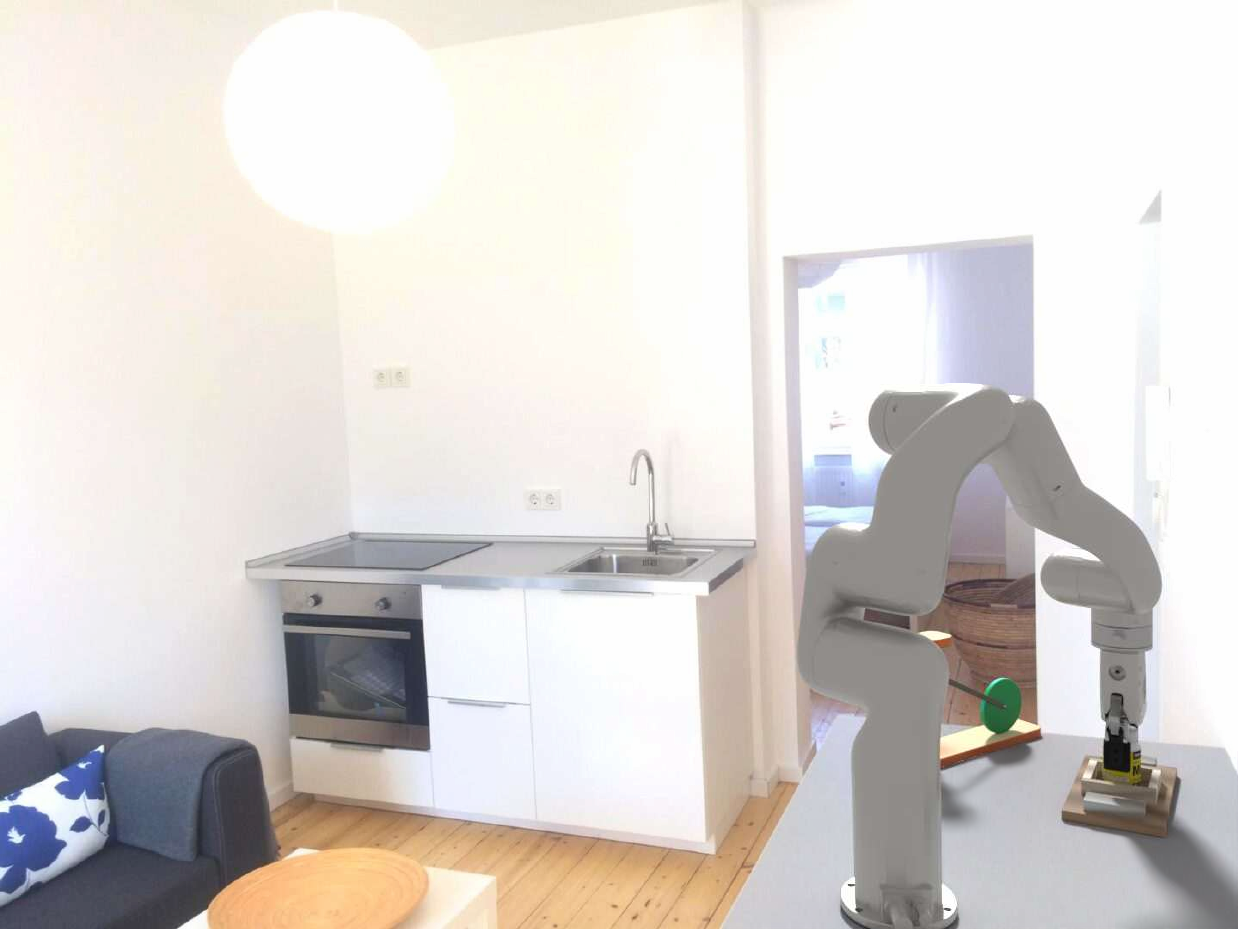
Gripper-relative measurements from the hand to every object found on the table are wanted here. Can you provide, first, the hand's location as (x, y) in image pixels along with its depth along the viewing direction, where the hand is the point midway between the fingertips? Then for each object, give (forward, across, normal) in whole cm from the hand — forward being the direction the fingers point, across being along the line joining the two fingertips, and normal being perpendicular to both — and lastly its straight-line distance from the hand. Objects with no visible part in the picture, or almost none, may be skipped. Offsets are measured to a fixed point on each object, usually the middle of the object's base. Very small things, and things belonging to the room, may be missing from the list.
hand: (1121, 758), depth 141 cm
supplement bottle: (+4, 0, 0) cm, 5 cm away
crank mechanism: (+6, +11, +22) cm, 26 cm away
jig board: (+6, 0, 0) cm, 6 cm away
